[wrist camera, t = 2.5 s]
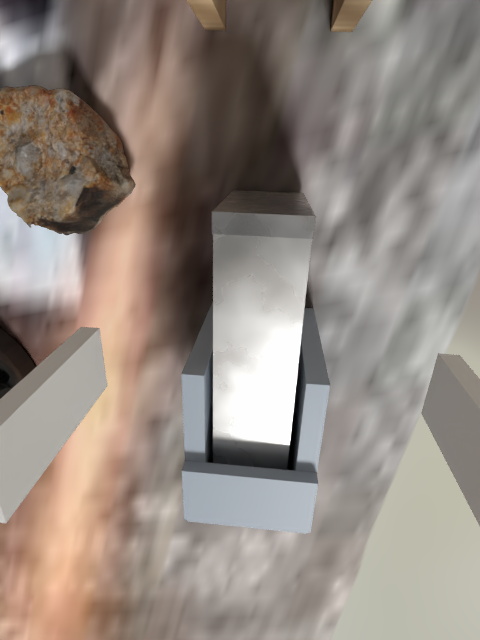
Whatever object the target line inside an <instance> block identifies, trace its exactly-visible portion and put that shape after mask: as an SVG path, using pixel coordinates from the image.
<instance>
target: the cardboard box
mask: <svg viewBox="0 0 480 640" xmlns="http://www.w3.org/2000/svg"><path fill="white" fill-rule="evenodd" d="M371 1H372V0H334V4H333V14H332V23H331V32H352V31H353V30H354V28H355V26H356V25H357V23H358V22H359V20H360V19H361V17H362V16H363V14H364V12H365V11H366V9H367V8H368V6H369V5H370V3H371ZM187 2H188V3H189V5H190V7H191V8H192V10H193V11H194V13H195V15H196V16H197V18H198V19H199V21H200V22H201V24H202V26H203V27H204V29H205V30H226V0H187Z"/></svg>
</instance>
